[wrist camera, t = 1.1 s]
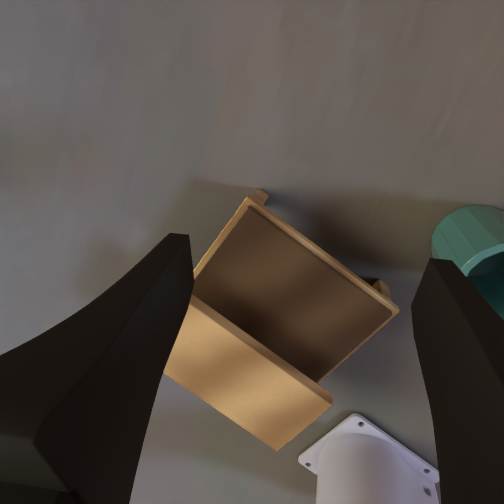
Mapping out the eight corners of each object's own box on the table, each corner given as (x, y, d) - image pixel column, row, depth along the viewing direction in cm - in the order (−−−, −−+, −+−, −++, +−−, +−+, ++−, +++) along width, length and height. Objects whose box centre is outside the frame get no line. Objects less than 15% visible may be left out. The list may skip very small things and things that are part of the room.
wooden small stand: (396, 287, 29) (409, 341, 23) (288, 387, 34) (277, 452, 28) (255, 180, 28) (231, 209, 22) (168, 301, 33) (130, 350, 27)
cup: (536, 237, 25) (592, 285, 20) (471, 291, 28) (504, 348, 22) (474, 188, 25) (512, 222, 19) (413, 247, 27) (431, 293, 21)
